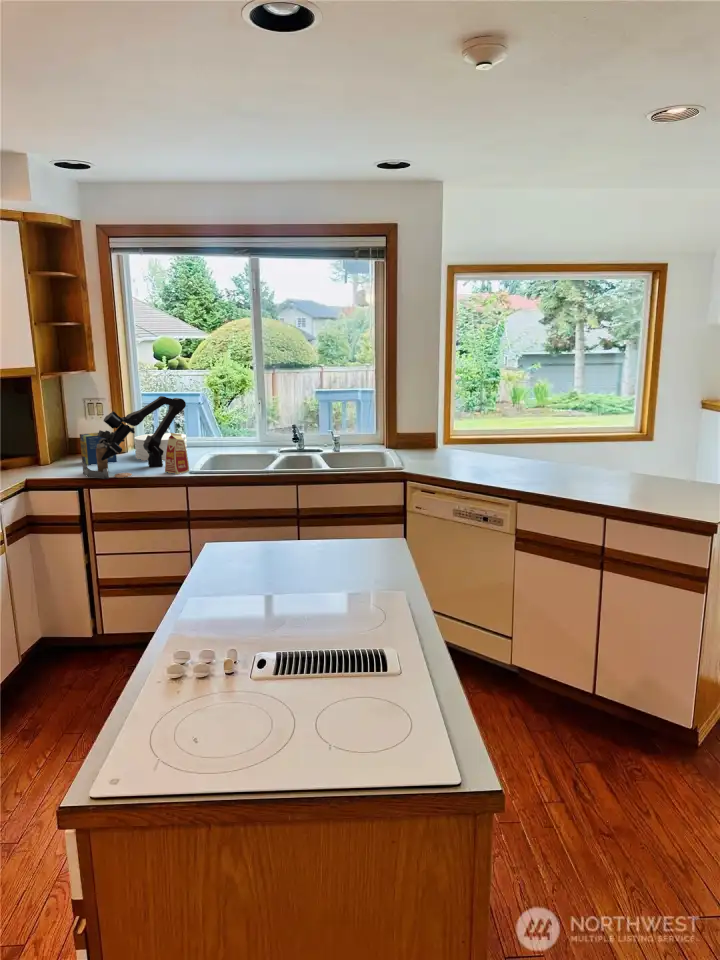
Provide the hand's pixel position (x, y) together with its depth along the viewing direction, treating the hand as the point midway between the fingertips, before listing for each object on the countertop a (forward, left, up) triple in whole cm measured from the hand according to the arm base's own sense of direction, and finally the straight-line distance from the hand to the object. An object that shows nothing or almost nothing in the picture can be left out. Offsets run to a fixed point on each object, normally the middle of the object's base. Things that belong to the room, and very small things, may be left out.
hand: (99, 458), depth 313 cm
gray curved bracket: (+1, +7, -7) cm, 10 cm away
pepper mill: (-1, -1, -7) cm, 7 cm away
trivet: (-12, +10, -7) cm, 18 cm away
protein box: (+6, -31, -7) cm, 32 cm away
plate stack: (-25, -43, -7) cm, 50 cm away
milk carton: (-37, +5, -7) cm, 38 cm away
